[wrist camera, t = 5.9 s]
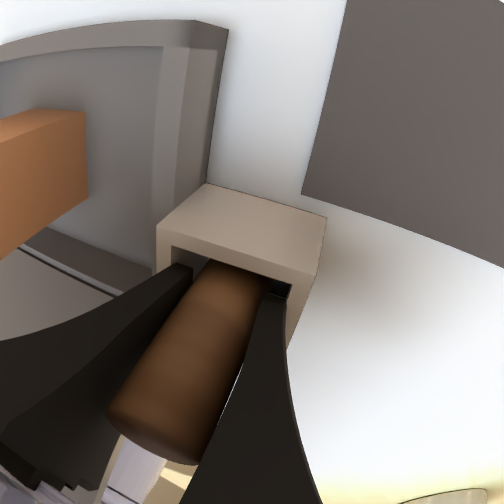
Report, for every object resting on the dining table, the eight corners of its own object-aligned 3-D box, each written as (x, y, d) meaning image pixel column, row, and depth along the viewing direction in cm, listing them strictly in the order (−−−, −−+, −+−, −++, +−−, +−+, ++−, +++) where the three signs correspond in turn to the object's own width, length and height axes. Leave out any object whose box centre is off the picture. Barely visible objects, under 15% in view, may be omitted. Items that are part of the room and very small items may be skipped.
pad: (508, 267, 9) (510, 271, 9) (302, 191, 11) (300, 194, 10) (580, 66, 4) (585, 67, 4) (358, -54, 6) (358, -57, 5)
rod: (270, 300, 12) (201, 473, 6) (211, 282, 12) (117, 435, 7) (283, 248, 11) (200, 444, 5) (216, 230, 11) (92, 393, 5)
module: (88, 198, 13) (-12, 270, 8) (37, 182, 13) (-51, 239, 9) (85, 111, 11) (-40, 162, 6) (32, 108, 11) (-72, 152, 6)
